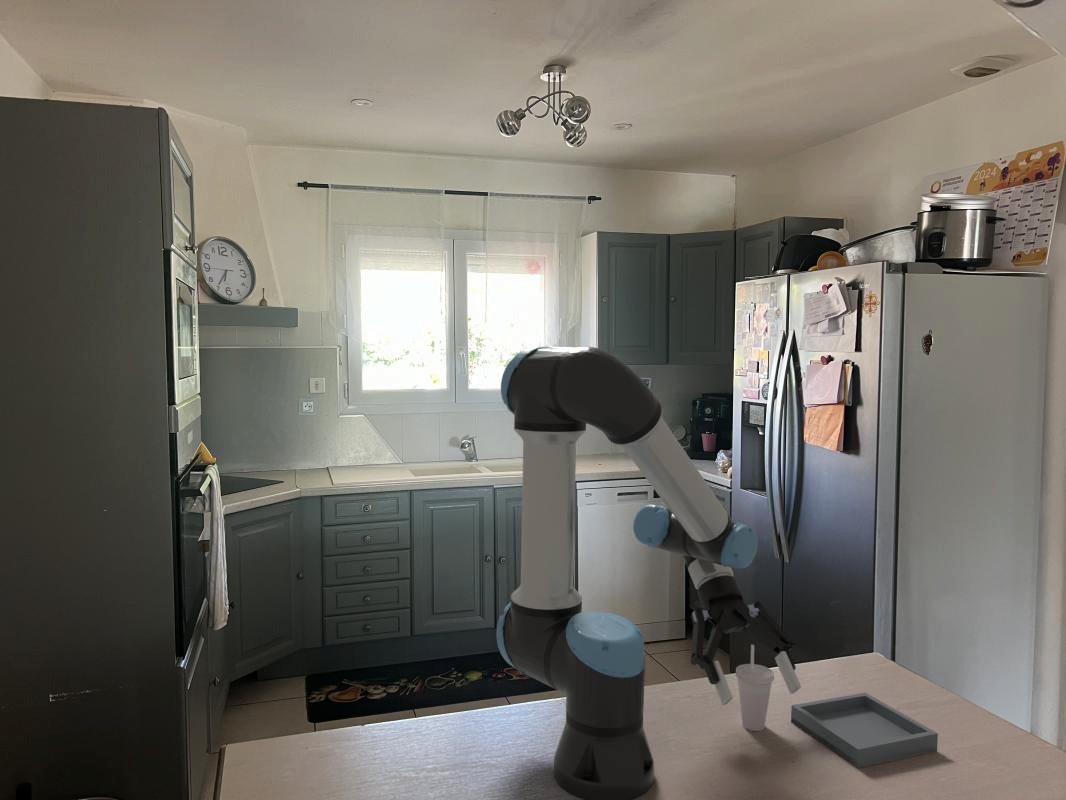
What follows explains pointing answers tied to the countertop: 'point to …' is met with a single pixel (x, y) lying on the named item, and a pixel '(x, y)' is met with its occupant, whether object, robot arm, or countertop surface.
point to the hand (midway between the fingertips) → (762, 696)
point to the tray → (863, 729)
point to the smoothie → (754, 693)
